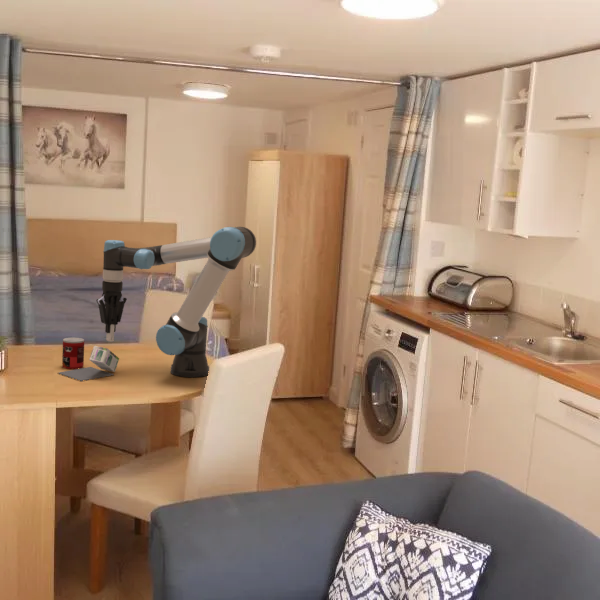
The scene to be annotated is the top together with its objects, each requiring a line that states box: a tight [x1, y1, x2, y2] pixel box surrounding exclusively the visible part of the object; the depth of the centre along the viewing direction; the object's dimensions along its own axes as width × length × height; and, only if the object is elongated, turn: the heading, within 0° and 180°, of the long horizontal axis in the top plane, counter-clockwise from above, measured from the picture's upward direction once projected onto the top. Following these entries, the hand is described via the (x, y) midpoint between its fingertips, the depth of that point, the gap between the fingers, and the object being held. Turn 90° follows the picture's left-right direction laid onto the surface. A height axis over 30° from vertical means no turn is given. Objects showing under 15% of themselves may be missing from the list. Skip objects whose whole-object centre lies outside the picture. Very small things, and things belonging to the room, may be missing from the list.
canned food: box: [61, 337, 85, 370], centre depth 286 cm, size 8×8×11 cm
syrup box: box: [88, 345, 120, 373], centre depth 278 cm, size 6×6×14 cm
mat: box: [58, 366, 115, 382], centre depth 277 cm, size 14×15×1 cm
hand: (110, 340), depth 285 cm, fingers closed
